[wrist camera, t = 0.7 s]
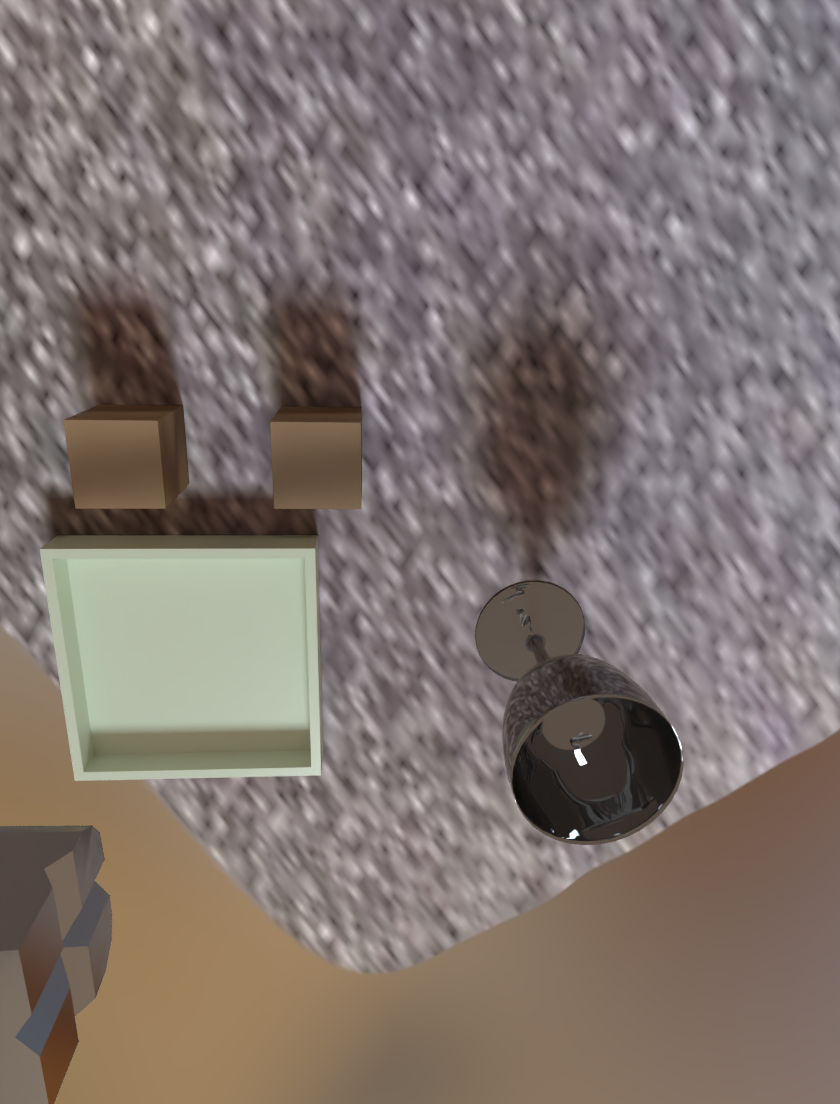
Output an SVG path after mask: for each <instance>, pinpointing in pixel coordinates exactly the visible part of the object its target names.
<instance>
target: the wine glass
mask: <svg viewBox="0 0 840 1104" xmlns="http://www.w3.org/2000/svg"><path fill="white" fill-rule="evenodd" d="M584 635H585V621H584V616H583V613H582V610H581V608H580V606H579V605H578V603H577V601H576V600H575V599H574V598H573V597H572V596H571V595H570V594H569V593H568V592H567V591H565V590H564V589H562V588H560V587H558V586H556V585H553V584H550V583H546V582H540V581H529V582H523V583H518V584H515V585H512V586H510V587H508V588H506V589H504V590H502V591H501V592H499V593H498V594H497V595H495V596H494V597H493V598H492V599H491V600H490V601H489V602H488V603H487V604H486V606H485V607H484V609H483V610H482V612H481V614H480V617H479V619H478V622H477V626H476V634H475V640H476V646H477V649H478V652H479V655H480V657H481V658H482V660H483V662H484V663H485V664H486V665H487V666H488V667H489V669H491V670H492V671H493V672H494V673H496V674H497V675H499V676H501V677H503V678H505V679H508V680H512V681H516V682H517V683H516V684H515V686H514V687H513V689H512V691H511V693H510V696H509V698H508V701H507V704H506V708H505V712H504V718H503V731H502V740H503V754H504V761H505V766H506V770H507V775H508V779H509V783H510V786H511V789H512V792H513V795H514V798H515V800H516V803H517V805H518V808H519V809H520V811H521V812H522V814H523V815H524V817H525V818H526V819H527V820H528V821H529V822H530V823H531V825H532V826H533V827H535V828H536V829H538V830H539V831H540V832H542V833H543V834H545V835H547V836H549V837H551V838H553V839H556V840H559V841H562V842H566V843H570V844H579V845H598V844H603V843H609V842H613V841H616V840H619V839H623V838H626V837H628V836H630V835H632V834H634V833H636V832H638V831H640V830H641V829H643V828H644V827H646V826H647V825H649V824H650V823H651V822H653V821H654V820H655V819H656V818H657V817H658V816H659V815H660V814H661V813H662V812H663V811H664V810H665V808H666V807H667V806H668V805H669V803H670V802H671V800H672V799H673V797H674V795H675V793H676V791H677V789H678V786H679V784H680V781H681V778H682V771H683V751H682V748H681V744H680V740H679V738H678V736H677V734H676V732H675V730H674V728H673V727H672V725H671V723H670V722H669V720H668V719H667V717H666V716H665V715H664V713H663V712H662V711H661V709H660V708H659V707H658V706H657V705H656V703H655V702H654V701H653V700H652V698H651V697H650V696H649V695H648V694H647V692H646V691H645V690H644V689H643V688H642V687H641V686H639V685H638V684H637V683H636V682H635V681H634V680H633V679H631V678H630V677H629V676H628V675H626V674H625V673H624V672H622V671H621V670H619V669H618V668H616V667H615V666H613V665H611V664H609V663H607V662H605V661H603V660H600V659H597V658H594V657H591V656H588V655H581V654H578V652H579V650H580V648H581V646H582V643H583V639H584Z"/></svg>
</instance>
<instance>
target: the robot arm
mask: <svg viewBox="0 0 840 1104" xmlns="http://www.w3.org/2000/svg"><path fill="white" fill-rule="evenodd" d="M104 860H105V859H104V853H103V848H102V842H101V837H100V832H99V831H98V830H96V829H95V828H94V827H93V826H0V1104H54V1103H55V1100H56V1098H57V1095H58V1093H59V1090H60V1088H61V1085H62V1083H63V1080H64V1077H65V1075H66V1072H67V1070H68V1067H69V1065H70V1062H71V1060H72V1057H73V1055H74V1052H75V1050H76V1047H77V1045H78V1042H79V1040H78V1033H77V1028H76V1021H75V1016H76V1015H77V1014H78V1013H79V1012H80V1011H82V1010H83V1009H84V1008H85V1007H86V1006H87V1005H88V1004H90V1002H92V1001H93V1000H94V999H95V998H96V996H97V993H98V990H99V988H100V985H101V982H102V979H103V977H104V974H105V971H106V967H107V961H108V955H109V951H110V946H111V941H112V910H111V902H110V895H109V894H108V893H107V892H106V891H105V890H104V889H103V888H102V887H101V886H99V884H97V883H96V882H95V879H96V877H97V875H98V873H99V870H100V868H101V866H102V864H103V862H104Z"/></svg>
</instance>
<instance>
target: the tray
mask: <svg viewBox="0 0 840 1104" xmlns="http://www.w3.org/2000/svg"><path fill="white" fill-rule="evenodd" d="M40 554H41V561H42V567H43V574H44V581H45V587H46V594H47V600H48V607H49V614H50V620H51V627H52V633H53V640H54V647H55V653H56V660H57V666H58V673H59V680H60V686H61V693H62V698H63V706H64V713H65V719H66V726H67V732H68V739H69V746H70V752H71V758H72V765H73V772H74V778H75V781H85V780H127V779H128V780H129V779H173V778H218V777H262V776H306V775H321V771H322V760H323V722H322V682H321V642H320V601H319V561H318V535H57V536H56V537H55V538H53V539H52V540H51V541H49V542H48V543H47V544H46V545H44V546H43V547H42V548H40Z"/></svg>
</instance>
